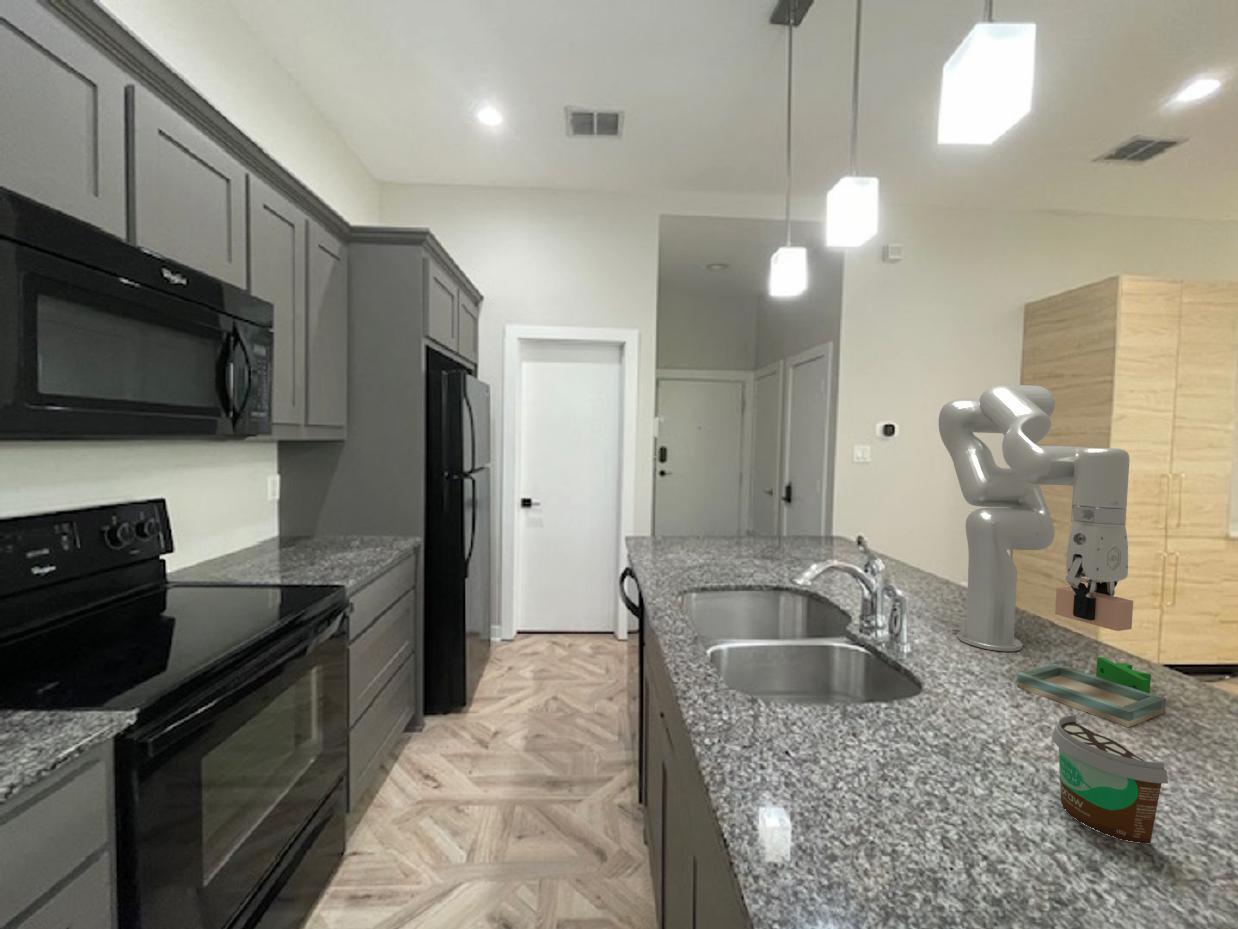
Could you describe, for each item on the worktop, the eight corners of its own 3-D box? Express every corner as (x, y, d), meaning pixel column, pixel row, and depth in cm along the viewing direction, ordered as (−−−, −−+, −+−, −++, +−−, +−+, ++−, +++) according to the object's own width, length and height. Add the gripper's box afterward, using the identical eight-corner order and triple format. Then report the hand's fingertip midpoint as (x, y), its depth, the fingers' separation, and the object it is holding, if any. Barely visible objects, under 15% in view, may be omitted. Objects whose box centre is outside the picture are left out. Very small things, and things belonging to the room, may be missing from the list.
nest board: (1016, 686, 108) (1017, 673, 108) (1054, 676, 114) (1055, 663, 114) (1128, 727, 93) (1129, 712, 93) (1165, 712, 99) (1165, 698, 99)
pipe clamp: (1162, 706, 102) (1164, 681, 102) (1140, 704, 103) (1141, 679, 103) (1116, 680, 113) (1117, 657, 113) (1095, 679, 114) (1097, 656, 114)
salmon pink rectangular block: (1117, 631, 98) (1118, 602, 98) (1055, 614, 107) (1056, 587, 107) (1131, 629, 99) (1133, 600, 99) (1068, 612, 109) (1070, 586, 108)
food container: (1024, 788, 75) (1028, 713, 75) (1067, 787, 76) (1071, 713, 75) (1112, 855, 63) (1118, 766, 63) (1163, 853, 63) (1169, 765, 63)
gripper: (1092, 520, 96) (1085, 627, 97) (1151, 518, 102) (1145, 619, 103) (1045, 514, 103) (1039, 615, 104) (1103, 513, 109) (1097, 608, 110)
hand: (1092, 616), depth 103 cm, fingers closed on salmon pink rectangular block, 4 cm apart
